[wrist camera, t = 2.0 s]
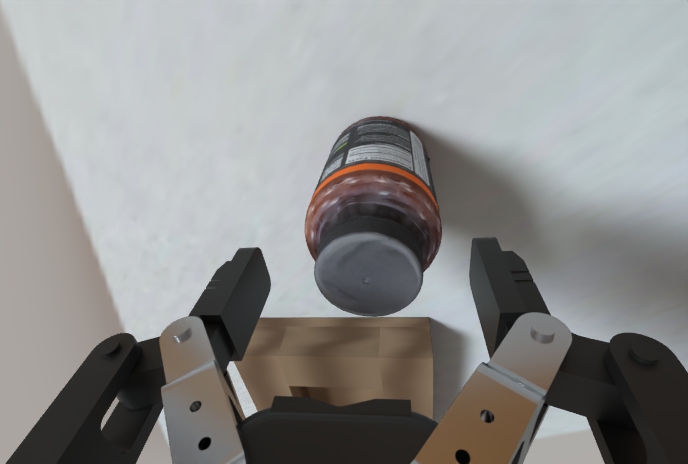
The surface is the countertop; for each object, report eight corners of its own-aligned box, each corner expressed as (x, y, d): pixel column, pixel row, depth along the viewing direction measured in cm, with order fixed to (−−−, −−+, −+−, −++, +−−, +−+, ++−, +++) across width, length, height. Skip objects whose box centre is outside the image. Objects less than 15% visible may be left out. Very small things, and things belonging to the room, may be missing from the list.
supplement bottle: (405, 213, 24) (410, 353, 15) (321, 186, 24) (272, 312, 14) (444, 131, 21) (484, 245, 11) (347, 98, 20) (305, 186, 11)
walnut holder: (429, 317, 29) (433, 358, 26) (429, 421, 38) (432, 462, 34) (247, 317, 32) (230, 355, 29) (287, 415, 41) (277, 452, 37)
